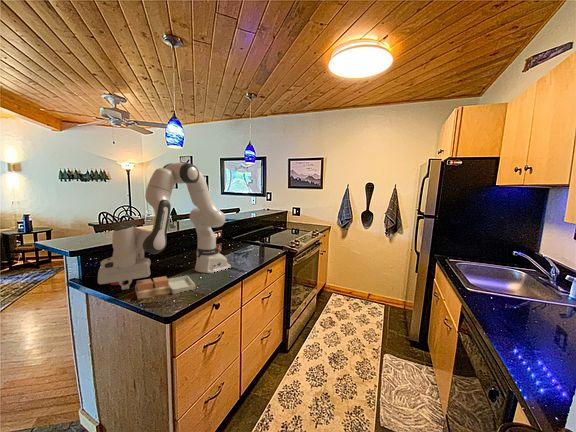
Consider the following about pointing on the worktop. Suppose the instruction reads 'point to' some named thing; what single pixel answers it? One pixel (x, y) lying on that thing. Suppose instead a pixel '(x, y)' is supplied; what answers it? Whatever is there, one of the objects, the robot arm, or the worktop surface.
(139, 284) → the tile
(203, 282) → the worktop surface
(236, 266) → the worktop surface
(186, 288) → the tray
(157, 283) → the tile
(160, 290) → the bench
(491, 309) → the worktop surface
